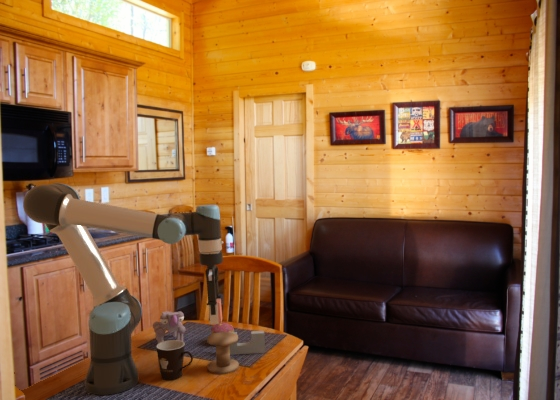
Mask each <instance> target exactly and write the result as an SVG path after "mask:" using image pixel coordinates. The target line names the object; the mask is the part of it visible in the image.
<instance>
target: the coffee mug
mask: <svg viewBox="0 0 560 400" xmlns="http://www.w3.org/2000/svg"><path fill="white" fill-rule="evenodd" d="M185 345H186V344H185V341H184V340H183V341H180V340H176V339H170V340H164V341H163V342H161V343H159V344H158V343H157V344H156V353H157V360H158V364H159V365H158V367H159V373H160V378H161V380H162V381H168V382H171V381H177V380H179V379H181V378H182V376H183V369H185V368H187V367H188V366H190V365H191V364H192V363H193V359H194V357H193V353H191V352H190V351H188V350H187V351H185ZM186 354H187V355H189V357H190V361H189V362H188V363H187V364H186V365H184V357H185V355H186Z"/></svg>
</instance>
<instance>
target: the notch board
mask: <svg viewBox="0 0 560 400" xmlns="http://www.w3.org/2000/svg"><path fill="white" fill-rule="evenodd" d="M231 333H235V334H237V335H238V331H234V332H231ZM250 334H251V338H250V340H251V342H238V341H237V342H236V343H234V344H232V345H230V356H231V355H243V354H245V355H246V354H248V355H249V354H252V355H253V354H266V353H265V352H266V350H265V349H266V348H265V347H266V346H265V345H266V344H265V341H266V340H265V331H264V330H253V331H252V330H251V332H250Z"/></svg>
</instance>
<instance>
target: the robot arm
mask: <svg viewBox="0 0 560 400" xmlns="http://www.w3.org/2000/svg"><path fill="white" fill-rule="evenodd" d="M24 195H25V196H24V197H23V201H22V207H23V211H24V213H25V214H26V216H27V217H28V218H29V219H30V220H31V221H33V222H35V223H38V224H44V225H45V226H46V228H47V230H48V231H49V232H50V233H53V234H56V235H57V237H58V238H59V240H60V242H61V244H62V245H63V247H64V248H65V250H66V252H67V253H68V255H69V257H70V259H71V260H72V262H73V264H74V266H75V268H76V269H77V271H78V273H79V274H80V276H81V278H82V280H83V282H84V283H85V285H86V286H87V288H88V290H89V291H90V293H91V295H92V297H93V298H94V300H93V304H92V309H91V311H90V312H89V316H88V328H89V350H90V353H89V354H90V364H89V367H88V370H87V374H86V377H85V384H84V385H85V390H86V391H87V392H88V393H90V394H93V395H98V396H99V395H100V396H101V395H102V396H103V395H104V396H107V395H114V394H119V393H122V392H125V391H128V390H130V389H131V388H134V387H135V386H136V385H137V384H138V383H139V380H140V379H139V371H138V369H137V366H136V363H135V361H134V359H133V355H132V334H133V332H134V331H135V329H136V328H137V326H138V325H139V323H140V321H141V319H142V314H143V308H142V304H141V302H140V300H139V299H137V297H135V296H134V295H133V294H131V293H130V291H129V290H128V288H127V286H123V285H120V284H119V282H118V280H117V279H116V276H115V275H114V273H113V272H112V269H111V268H110V266H109V264H108V262H107V261H106V260H105V258H104V255H103V254H102V252H101V251H100V248H99V247H98V245H97V244H96V242H95V240H94V238H93V237H92V235H91V233H90V231H89V229H88V228H91V229H98V230H102V231H103V230H104V231H109V232H114V233H119V234H126V235H131V236H136V237H137V236H138V237H143V238H147V239H153V240H159V241H162V243H165V244H169V245H172V244H173V245H174V244H176V243H177V244H178V242H180V241H181V240H183V238H184V237H185V236H196V235H197V236H198V238H197V239H198V240H197V241H198V242H197V243H198V252H200V253H199V254H198V255H199V257H198V258H199V264H200V265H201V266H207V267H206V268H205V271H204V272H205V278H206V292H207V293H206V294H207V302H206V306H208V312H209V313H208V315H209V325H210V324H212V325H216V324H219V322H218V306H217V299H221V298H222V297H221V295H220V288H219V268H218V266H217V265H221V264H222V263H223V262H224V259H223V251H222V250H223V247H222V245H223V244H224V241H223V240H222V225H221V215H220V214H221V213H220V207H219V206H218V205H217V204H202V205H197V206H196V207H195V208H196V210H195V211H192V212H191V211H190V212H173V213H172V212H169V213H162V214H160V213H155V212H148V211H144V210H139V209H138V210H137V209H133V208H128V207H122V206H117V205H111V204H106V203H100V202H94V201H89V200H84V199H81V198H80V195H79V194H78V192H77V191H76V189H74V188H73V187H72V186H70V185H69V184H65V183H61V182H54V183H49V184H39V185H36V186H34V187H31V189H30V190H28V191H27V192H26V194H24Z"/></svg>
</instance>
